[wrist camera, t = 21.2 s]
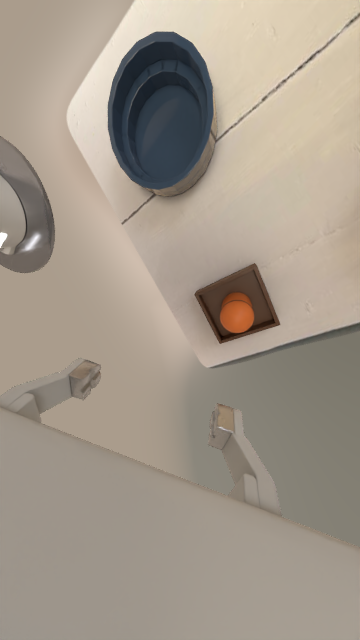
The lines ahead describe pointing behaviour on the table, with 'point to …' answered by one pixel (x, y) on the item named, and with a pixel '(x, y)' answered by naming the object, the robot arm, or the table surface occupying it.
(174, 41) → the glazed bowl
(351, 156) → the table surface
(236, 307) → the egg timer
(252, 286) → the tray
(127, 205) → the table surface
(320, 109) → the table surface
